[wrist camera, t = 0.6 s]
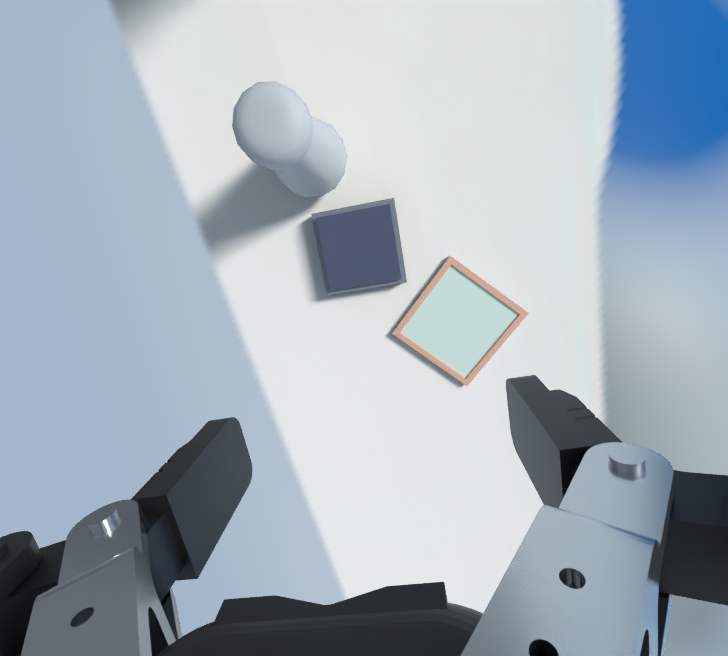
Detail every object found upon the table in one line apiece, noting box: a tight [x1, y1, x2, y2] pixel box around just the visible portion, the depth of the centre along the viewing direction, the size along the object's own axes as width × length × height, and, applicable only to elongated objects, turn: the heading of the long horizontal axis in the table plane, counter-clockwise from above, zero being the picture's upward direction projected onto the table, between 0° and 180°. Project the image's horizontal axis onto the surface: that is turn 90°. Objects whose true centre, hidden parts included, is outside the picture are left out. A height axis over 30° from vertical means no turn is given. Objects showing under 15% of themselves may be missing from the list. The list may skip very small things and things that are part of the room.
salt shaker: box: [232, 82, 347, 197], centre depth 27 cm, size 6×6×13 cm
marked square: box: [392, 256, 528, 386], centre depth 35 cm, size 8×8×1 cm
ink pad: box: [311, 198, 407, 295], centre depth 33 cm, size 7×7×2 cm
